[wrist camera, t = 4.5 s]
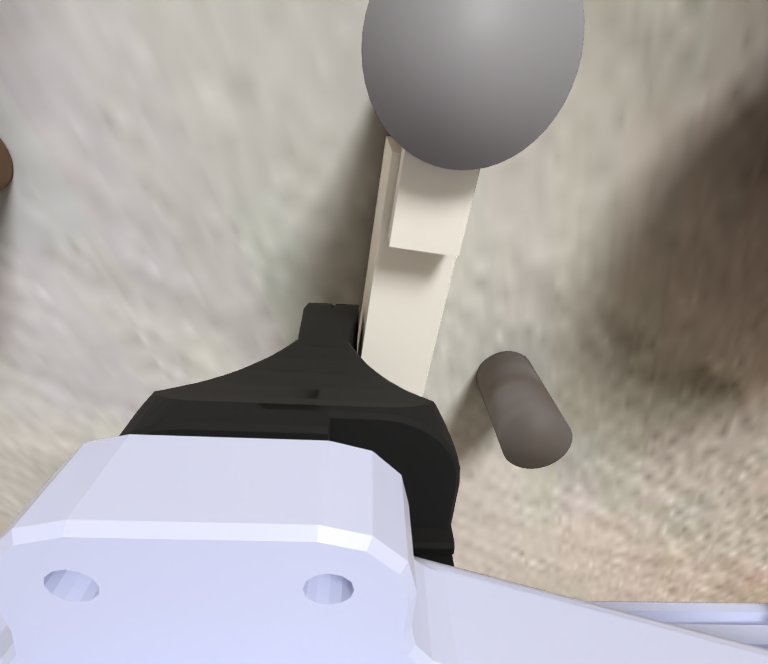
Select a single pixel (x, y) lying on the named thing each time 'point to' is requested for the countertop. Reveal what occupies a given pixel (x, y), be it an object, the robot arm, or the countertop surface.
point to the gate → (447, 146)
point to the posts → (492, 397)
